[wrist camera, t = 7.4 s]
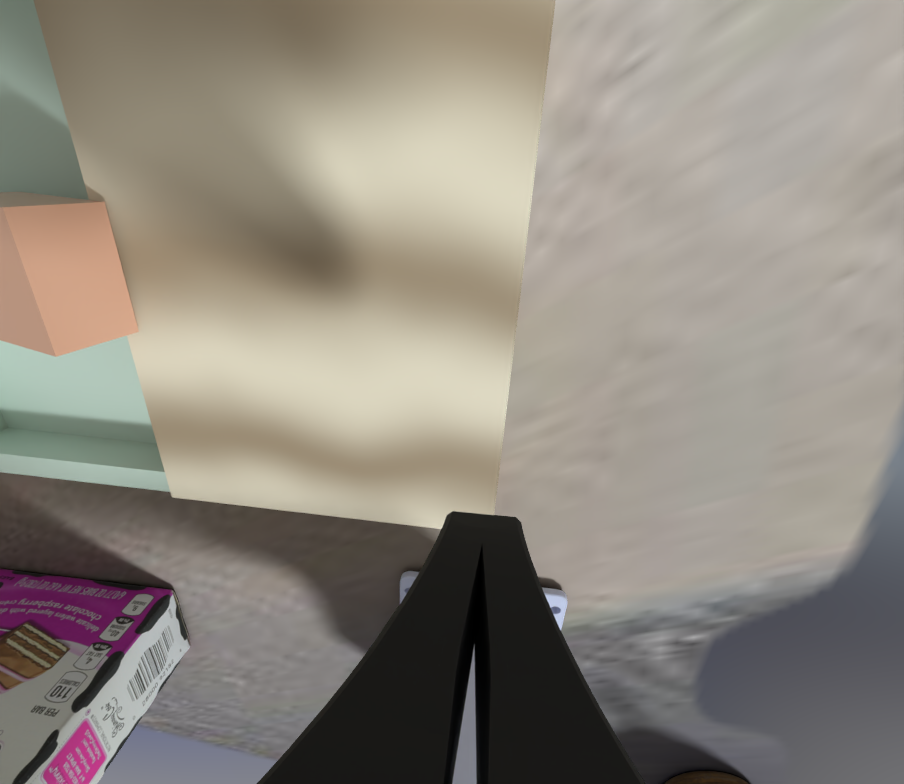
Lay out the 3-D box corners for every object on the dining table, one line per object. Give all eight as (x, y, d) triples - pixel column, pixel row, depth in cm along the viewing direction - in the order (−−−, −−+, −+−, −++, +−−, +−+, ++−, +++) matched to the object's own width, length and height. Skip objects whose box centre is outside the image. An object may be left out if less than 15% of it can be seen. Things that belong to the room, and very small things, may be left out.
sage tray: (207, 461, 21) (176, 492, 19) (5, 439, 22) (-46, 466, 20) (88, -69, 13) (13, -110, 11) (-228, -76, 14) (-351, -116, 12)
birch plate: (493, 493, 20) (491, 534, 18) (207, 461, 21) (171, 497, 19) (556, -58, 12) (568, -109, 10) (88, -69, 13) (0, -118, 11)
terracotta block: (138, 331, 15) (56, 356, 13) (61, 312, 17) (-27, 332, 15) (104, 201, 14) (2, 207, 11) (20, 191, 15) (-86, 194, 13)
